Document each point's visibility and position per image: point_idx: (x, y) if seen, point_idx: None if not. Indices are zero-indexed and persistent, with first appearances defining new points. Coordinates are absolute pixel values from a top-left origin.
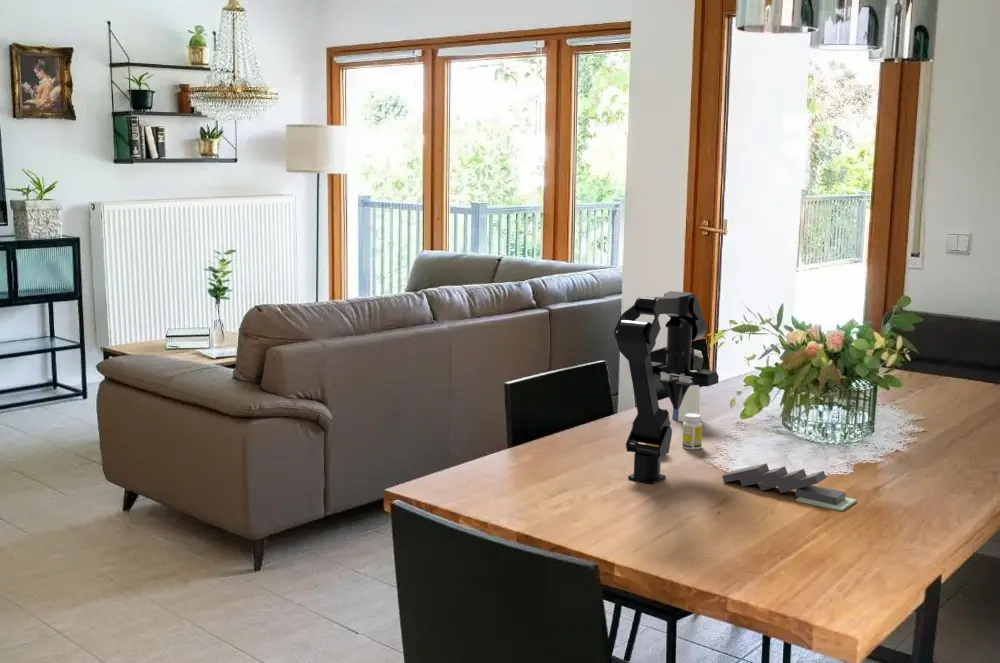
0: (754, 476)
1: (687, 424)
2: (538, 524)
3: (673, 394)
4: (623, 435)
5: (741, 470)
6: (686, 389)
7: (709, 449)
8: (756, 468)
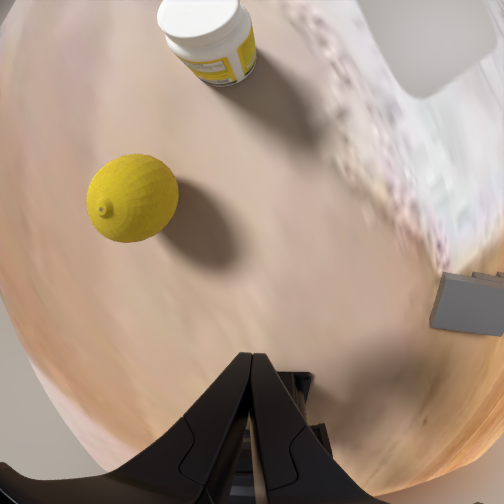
0: None
1: (198, 55)
2: None
3: (230, 478)
4: (37, 119)
5: (472, 313)
6: (341, 487)
7: (282, 45)
8: (500, 336)
